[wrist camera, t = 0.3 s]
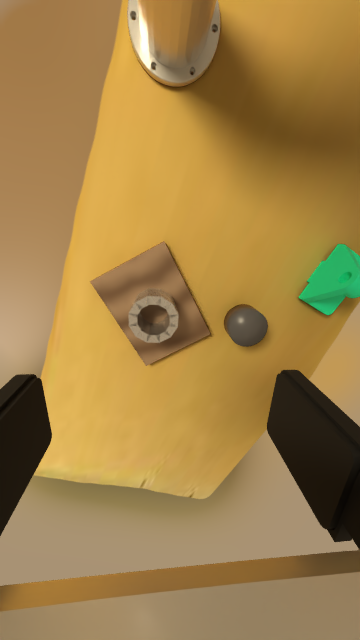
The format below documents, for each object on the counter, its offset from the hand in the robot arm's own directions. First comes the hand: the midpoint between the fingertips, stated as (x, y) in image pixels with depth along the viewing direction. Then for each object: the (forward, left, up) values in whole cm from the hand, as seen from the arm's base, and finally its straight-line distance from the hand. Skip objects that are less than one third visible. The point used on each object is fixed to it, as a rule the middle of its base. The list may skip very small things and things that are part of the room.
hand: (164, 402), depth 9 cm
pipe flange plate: (+5, -4, -36) cm, 37 cm away
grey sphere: (+15, +10, -36) cm, 40 cm away
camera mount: (+17, +30, -37) cm, 50 cm away
